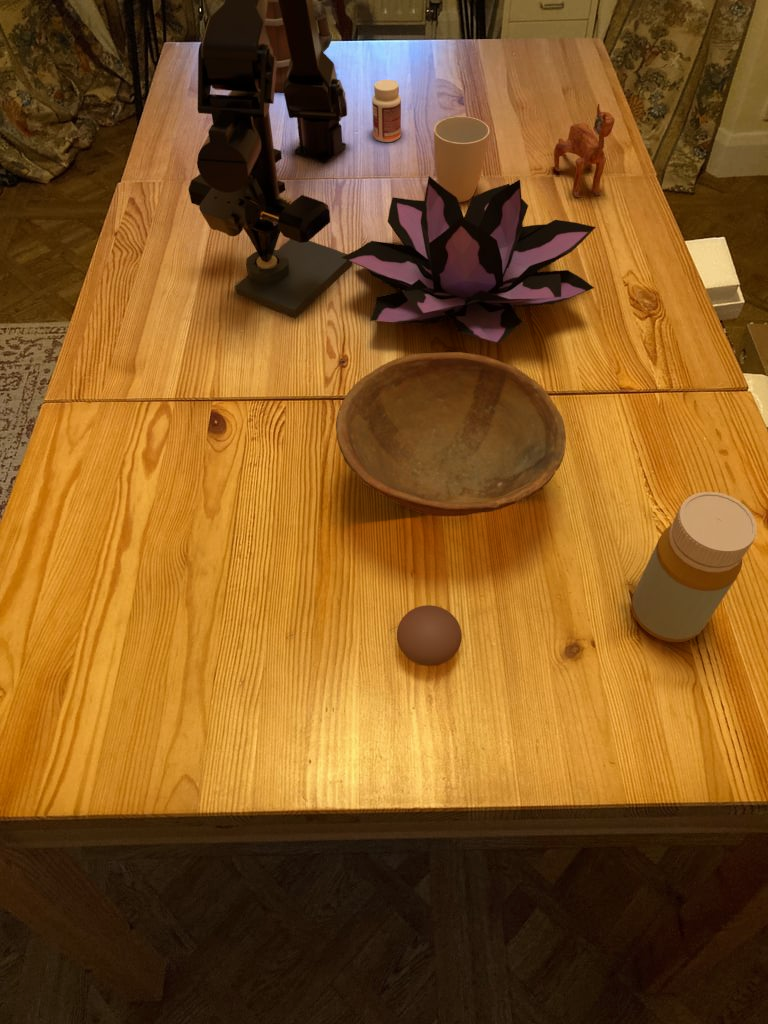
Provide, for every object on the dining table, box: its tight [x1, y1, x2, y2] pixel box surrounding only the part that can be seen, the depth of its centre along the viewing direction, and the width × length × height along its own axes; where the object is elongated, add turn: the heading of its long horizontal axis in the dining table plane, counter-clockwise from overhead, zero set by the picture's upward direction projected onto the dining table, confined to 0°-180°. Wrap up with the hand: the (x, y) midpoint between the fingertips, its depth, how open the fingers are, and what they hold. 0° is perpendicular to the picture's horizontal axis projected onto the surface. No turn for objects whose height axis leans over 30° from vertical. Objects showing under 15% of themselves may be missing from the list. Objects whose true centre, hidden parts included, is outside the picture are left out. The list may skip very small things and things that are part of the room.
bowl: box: [335, 351, 567, 517], centre depth 80 cm, size 22×23×10 cm
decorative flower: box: [342, 175, 596, 344], centre depth 99 cm, size 32×32×15 cm
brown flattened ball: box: [396, 604, 463, 667], centre depth 71 cm, size 6×6×4 cm
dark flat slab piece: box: [234, 239, 353, 319], centre depth 106 cm, size 11×14×3 cm
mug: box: [265, 0, 333, 93], centre depth 140 cm, size 16×12×15 cm
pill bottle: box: [372, 79, 402, 143], centre depth 128 cm, size 5×5×8 cm
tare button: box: [257, 255, 278, 269], centre depth 105 cm, size 3×3×2 cm
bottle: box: [630, 491, 758, 643], centre depth 68 cm, size 7×7×15 cm
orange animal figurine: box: [553, 103, 615, 198], centre depth 118 cm, size 18×7×14 cm, turn 9°
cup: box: [433, 115, 490, 203], centre depth 116 cm, size 8×8×10 cm
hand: (266, 260), depth 105 cm, fingers closed, pressing on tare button
